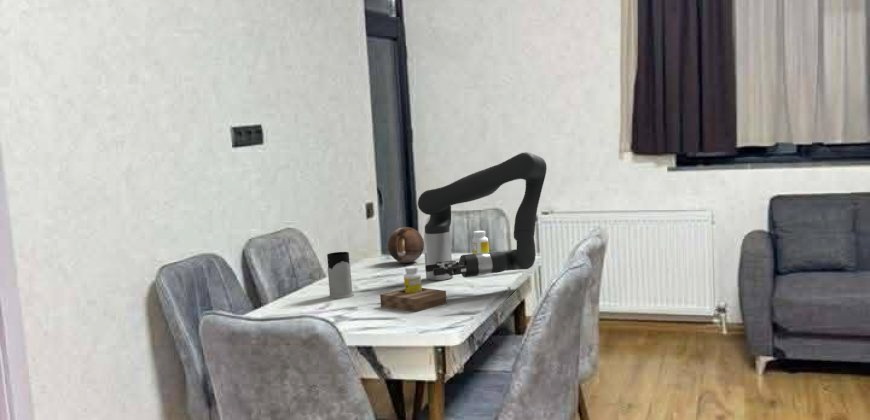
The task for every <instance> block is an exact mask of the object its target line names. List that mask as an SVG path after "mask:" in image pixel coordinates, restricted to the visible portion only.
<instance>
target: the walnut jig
mask: <svg viewBox="0 0 870 420" xmlns="http://www.w3.org/2000/svg"><path fill="white" fill-rule="evenodd" d="M379 296H380V297H379V299H380V307H382V308H388V309H395V310H402V311H408V312H414V313H415V312H416V313H417V312H420V311H424V310H426V309H431V308H433V307H437V306H441V305H444V304H447V303H448V302H447V291H446V290H442V289H434V288H427V287H425V288H424V287H422V292H418V293H414V294H410V293H405V287H404V288H401V289H396V290H392V291H388V292H385V293H380V294H379Z"/></svg>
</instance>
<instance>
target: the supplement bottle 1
mask: <svg viewBox="0 0 870 420" xmlns="http://www.w3.org/2000/svg"><path fill="white" fill-rule="evenodd" d="M404 269H405V274H404V275H403V281H404V288H405V293H410V294H414V293H418V292H422V288H423V286H422V279H421V277H422V276H421V273H420V272H418V270H419V267H418V266H417V265H410V266H405V268H404Z"/></svg>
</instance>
